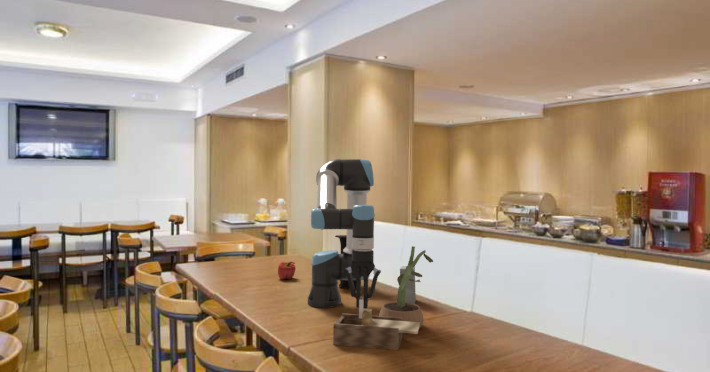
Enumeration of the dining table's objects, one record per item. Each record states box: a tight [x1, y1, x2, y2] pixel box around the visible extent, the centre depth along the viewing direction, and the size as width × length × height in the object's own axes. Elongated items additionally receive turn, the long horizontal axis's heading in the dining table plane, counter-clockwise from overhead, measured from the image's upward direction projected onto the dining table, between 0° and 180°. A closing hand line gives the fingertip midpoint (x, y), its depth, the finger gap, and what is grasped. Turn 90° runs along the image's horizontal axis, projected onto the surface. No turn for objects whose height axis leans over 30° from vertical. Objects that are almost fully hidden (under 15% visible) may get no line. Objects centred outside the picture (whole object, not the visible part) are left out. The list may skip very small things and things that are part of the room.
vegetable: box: [277, 261, 296, 280], centre depth 266 cm, size 11×10×10 cm
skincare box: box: [399, 265, 417, 304], centre depth 220 cm, size 8×7×16 cm
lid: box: [362, 308, 420, 335], centre depth 164 cm, size 19×10×5 cm, turn 78°
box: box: [332, 313, 403, 351], centre depth 166 cm, size 22×13×7 cm, turn 78°
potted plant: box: [378, 245, 434, 329], centre depth 184 cm, size 22×18×30 cm
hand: (361, 317), depth 166 cm, fingers closed
